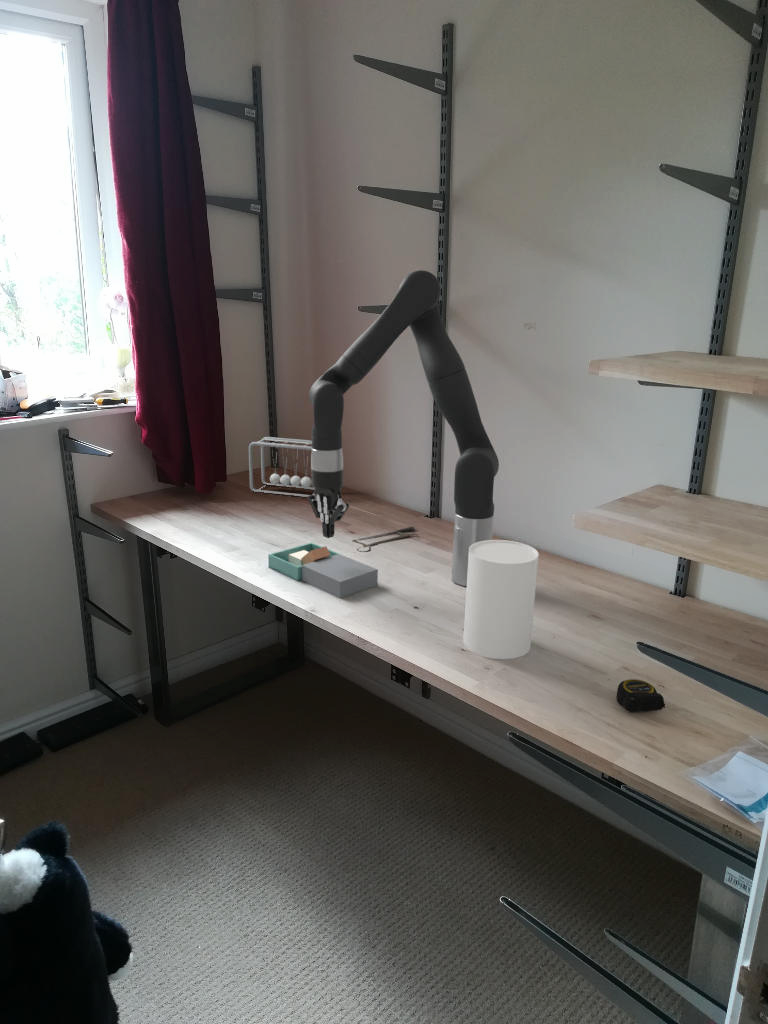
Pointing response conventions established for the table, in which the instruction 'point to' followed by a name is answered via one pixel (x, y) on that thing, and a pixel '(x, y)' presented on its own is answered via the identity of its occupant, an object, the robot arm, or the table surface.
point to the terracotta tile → (315, 555)
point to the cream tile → (297, 557)
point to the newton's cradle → (285, 478)
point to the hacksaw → (400, 532)
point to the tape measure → (639, 696)
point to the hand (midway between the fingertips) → (328, 536)
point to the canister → (500, 598)
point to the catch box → (282, 565)
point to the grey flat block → (339, 575)
